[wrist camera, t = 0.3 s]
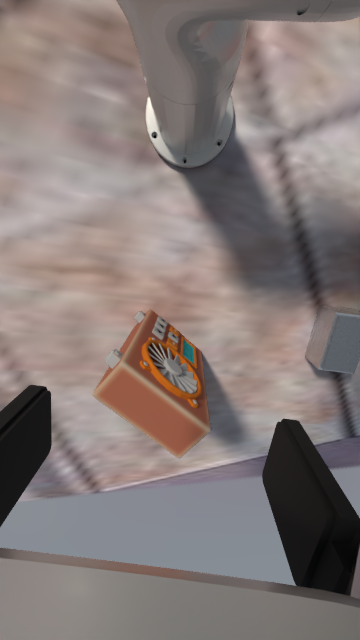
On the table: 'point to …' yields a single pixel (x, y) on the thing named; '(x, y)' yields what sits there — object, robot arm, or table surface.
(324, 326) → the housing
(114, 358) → the control panel
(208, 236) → the table surface
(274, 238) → the table surface
